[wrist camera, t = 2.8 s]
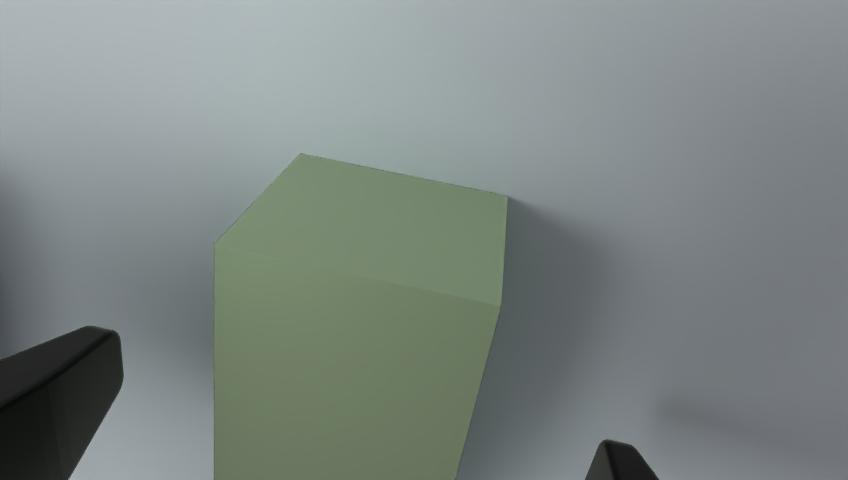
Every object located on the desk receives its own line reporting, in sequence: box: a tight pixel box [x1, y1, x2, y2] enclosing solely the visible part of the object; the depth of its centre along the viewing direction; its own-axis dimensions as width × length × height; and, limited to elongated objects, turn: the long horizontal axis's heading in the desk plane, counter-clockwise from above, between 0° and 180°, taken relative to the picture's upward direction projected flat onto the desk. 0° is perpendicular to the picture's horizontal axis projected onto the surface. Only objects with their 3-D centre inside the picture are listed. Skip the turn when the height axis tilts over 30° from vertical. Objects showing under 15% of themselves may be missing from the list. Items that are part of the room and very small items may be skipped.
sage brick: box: [214, 153, 508, 480], centre depth 9 cm, size 6×3×3 cm, turn 171°
